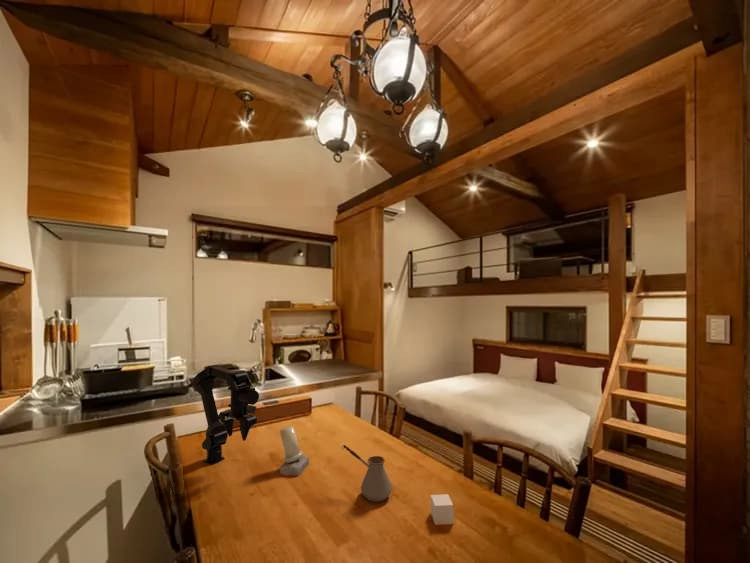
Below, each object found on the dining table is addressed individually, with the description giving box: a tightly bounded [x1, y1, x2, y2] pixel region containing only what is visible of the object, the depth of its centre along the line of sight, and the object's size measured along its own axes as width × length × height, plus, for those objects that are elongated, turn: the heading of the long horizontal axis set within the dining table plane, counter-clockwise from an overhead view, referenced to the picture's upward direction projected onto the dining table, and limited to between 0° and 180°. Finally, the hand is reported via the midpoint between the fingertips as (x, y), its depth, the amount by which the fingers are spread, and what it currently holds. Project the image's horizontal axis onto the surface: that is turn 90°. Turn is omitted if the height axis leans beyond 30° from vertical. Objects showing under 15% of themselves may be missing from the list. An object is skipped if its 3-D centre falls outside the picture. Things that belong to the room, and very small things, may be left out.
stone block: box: [279, 455, 310, 477], centre depth 145 cm, size 12×5×10 cm
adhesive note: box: [430, 493, 454, 526], centre depth 112 cm, size 6×6×6 cm
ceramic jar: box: [279, 425, 304, 463], centre depth 146 cm, size 8×8×12 cm
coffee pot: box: [341, 444, 393, 503], centre depth 128 cm, size 21×12×15 cm, turn 58°
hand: (237, 438), depth 145 cm, fingers open, 9 cm apart
